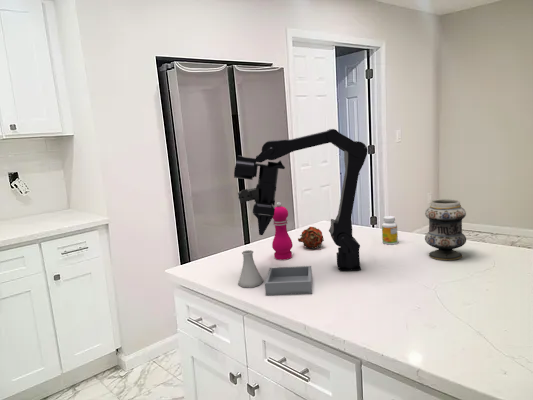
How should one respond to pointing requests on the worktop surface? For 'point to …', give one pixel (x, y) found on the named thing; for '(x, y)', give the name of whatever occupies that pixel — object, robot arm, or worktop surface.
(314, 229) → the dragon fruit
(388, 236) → the supplement bottle
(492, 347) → the worktop surface
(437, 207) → the apothecary jar
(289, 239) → the pepper mill
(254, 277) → the flask
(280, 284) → the box
